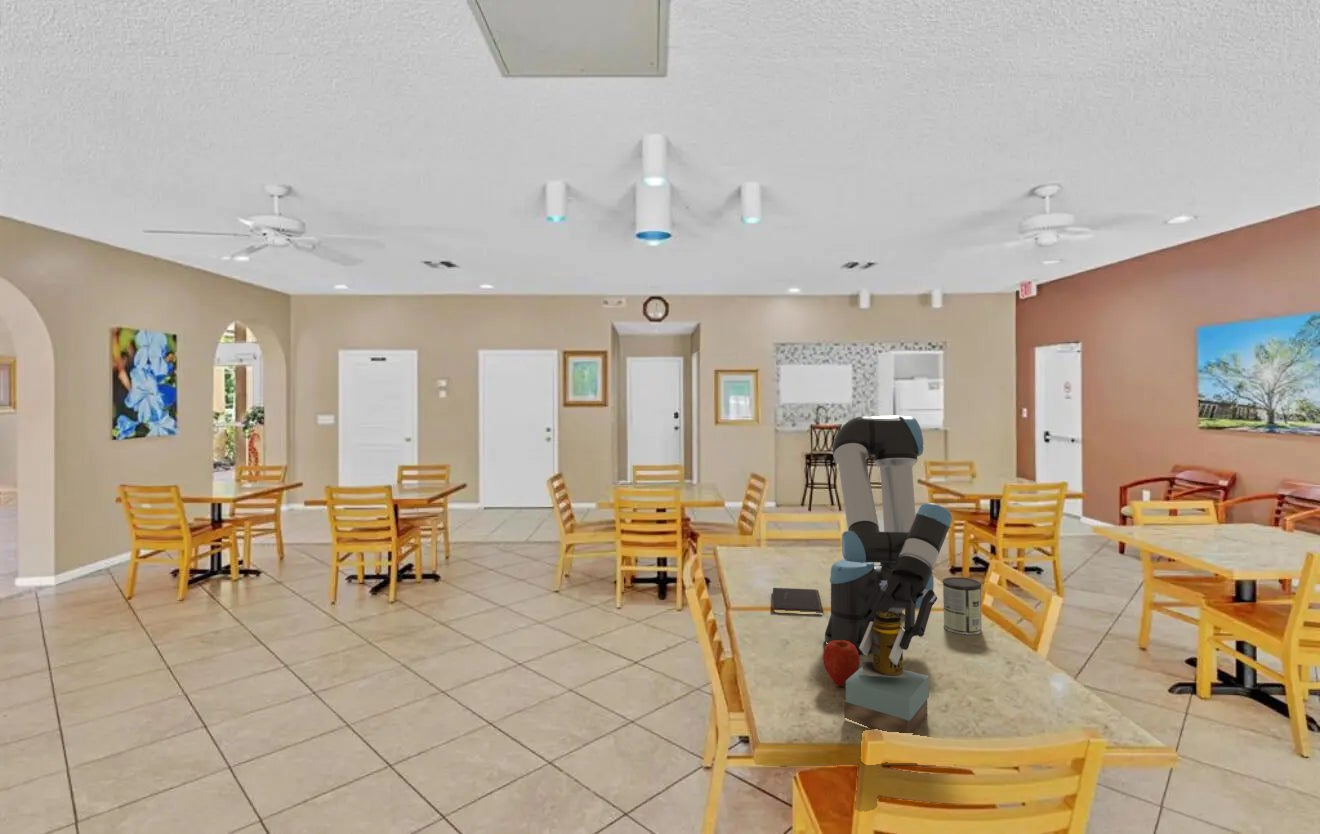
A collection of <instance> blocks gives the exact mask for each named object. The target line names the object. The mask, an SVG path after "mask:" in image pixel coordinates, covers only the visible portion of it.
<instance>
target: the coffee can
mask: <svg viewBox="0 0 1320 834" xmlns="http://www.w3.org/2000/svg"><path fill="white" fill-rule="evenodd" d="M942 585H943V586H942V594H943V595H942V596H943V597H942V598H943V601H942V602H943V628H944V629H945V630H946V631H949V632H950V631H951V633H953V632H954V634H958V635H964V634H966V636H973V635H974V634H975V635H979V634H981V633H982V632H983V631H982V583H981V582H980V581H978V580H975V579H972V578H968V577H959V576H958V577H956V576H955V577H954V576H953V577H951V576H950V577H946V578H943V579H942Z"/></svg>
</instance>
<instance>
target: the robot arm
mask: <svg viewBox="0 0 1320 834" xmlns="http://www.w3.org/2000/svg"><path fill="white" fill-rule="evenodd" d="M923 452H924V437H923V432H922V429H921V425H920V424H919V422H918V420H917V419H916V418H914V417H913V416H909V415H908V416H907V415H906V416H905V415H899V414H897V415H876V416H874V415H873V416H866V415H865V416H864V415H863V416H857V417H853V418H852V419H850V420H848V421H847V422H846V423H845V424H843V425H842V426H841V428H840V429H839V430H838V432H836V434H835V438H834V440H833V443H832V456H833V460H834V462H835V463H836V464H837V465H838V471H839V477H840V483H841V484H840V485H841V491H842V498H843V504H844V505H843V506H844V510H845V511H844V512H845V518H846V525H847V530H848V531H843V532H842V534H841V553H842V557H843V559H841V560H838V561H836V562H834V563H833V564H832V565H831V568H830V576H829V577H830V578H829V582H830V617H829V620H828V623H827V626H826V628H825V632H824V642H825V641H826V642H827V643H829V642H831V641H833V640H845V641H849V642H851V643H852V644H853V645H855V647H856V649H857V651H858V653H863V654H862V655H865V656H868V653H869V654H873V644H872V627H873V625H874V614H875V613H876V612H878V611H888V610H889V609H904V625H903V627H902V630H901V629H900V630H899V633H898V635H897V638H896V640H895V643H894V646H893V648H892V651H891V653H890V656H889V658H890V660H891V661H892V662H893V664H895V665H897V664H898V662H899V659H900V657H901V654H902V651H907V650H908V649H909V647H910V644H911V641H912V640H913V637H917V636H918V637H920V638H922V637H924V634H925V632H926V628H927V626H928V622H929V619H930V615H931V613H932V612H931V611H932V609H933V605H934V604H935V602H937V600H938V597H937V595H936V594H935V592H934V586H935V585H934V583H935V582H934V575H933V570H934V569H935V565H936V562H937V560H938V558H939V555H940V552H941V549H942V547H943V544H944V541H945V539H946V537H947V534H948V532H949V529H950V528H951V524H952V520H953V516H952V513H951V512H950V511H949V510H948V509H947V508H946V507H945V506H942V505H939V504H937V503H933V502H927V503H923V504H921V505H920V506H919V508H918V510H917V512H916V504H915V491H914V490H915V489H914V488H915V487H914V475H913V473H914V471H913V467H914V466H915V465H916V464H917V463H918V457H920V456H921V455H923ZM869 457H874V459H873V460H874V464H875V465H876V466H878V468H880V484H881V500H882V501H881V502H882V503H881V504H882V515H883V516H882V518H883V519H882V520H883V531H880V527H879V525H880V524H879V521H878V516H877V510H876V505H875V501H874V496H873V490H872V486H871V480H870V475H869V469H868V464H867V460H868V458H869ZM875 563H880V564H875ZM916 610H918V613H917V617H916Z"/></svg>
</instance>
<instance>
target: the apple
mask: <svg viewBox="0 0 1320 834" xmlns="http://www.w3.org/2000/svg"><path fill="white" fill-rule="evenodd" d="M859 661H861V660H860V654H858V651H857V649H856V647H855V645H853V644H852V643H851V642H849V641H845V640H833V641H831V642H829V643H828V644H827V645H825V648H824V650H823V654H822V662H823V667H824V669H825V671H826V672H827V674H828V677H829V678H830V680H831V681H832V682H833V684H834V685H835V684H836V685H838V686H837V687H839V686H842V687H846V680H847V679H848V678H849V677H851V676H852V675H853V674H854V673H855V672H856V671H858V670H859V669H860V668H859V667H860V666H861V664H860V662H859ZM836 685H835V686H836Z"/></svg>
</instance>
